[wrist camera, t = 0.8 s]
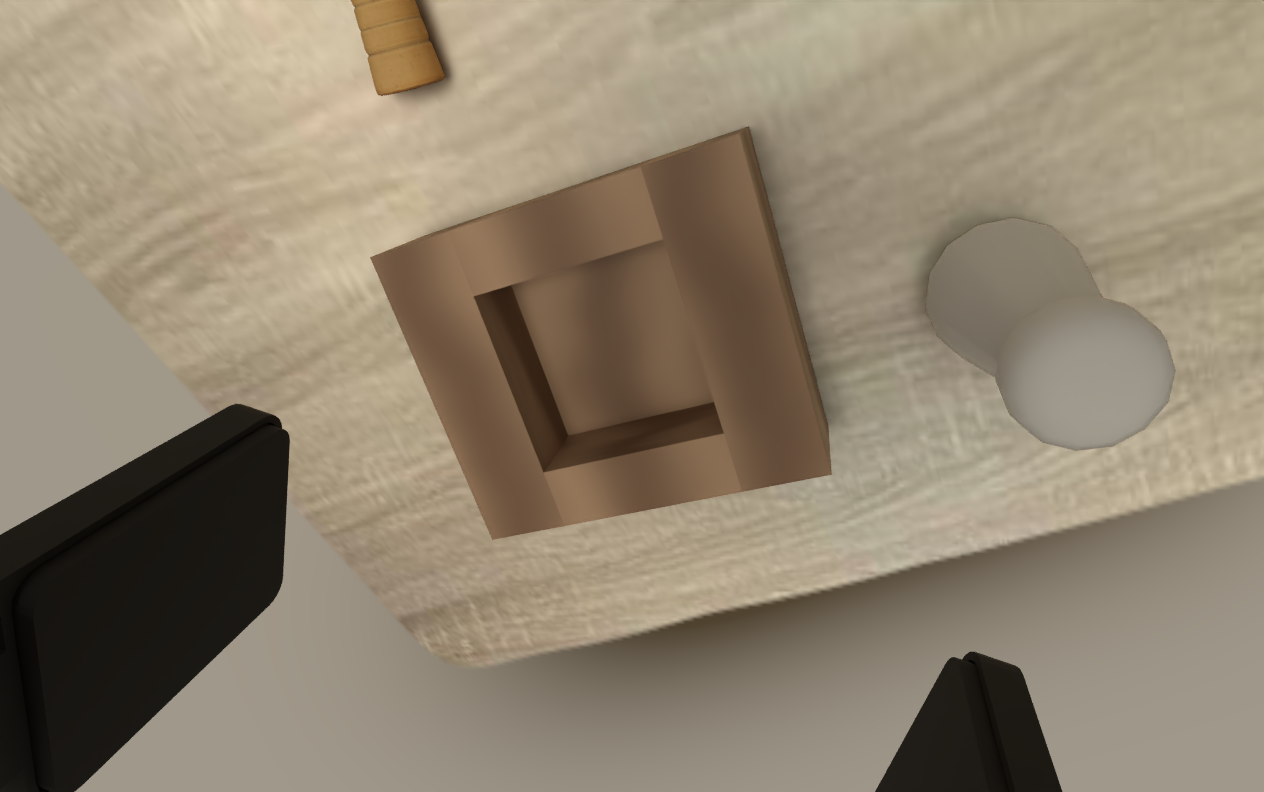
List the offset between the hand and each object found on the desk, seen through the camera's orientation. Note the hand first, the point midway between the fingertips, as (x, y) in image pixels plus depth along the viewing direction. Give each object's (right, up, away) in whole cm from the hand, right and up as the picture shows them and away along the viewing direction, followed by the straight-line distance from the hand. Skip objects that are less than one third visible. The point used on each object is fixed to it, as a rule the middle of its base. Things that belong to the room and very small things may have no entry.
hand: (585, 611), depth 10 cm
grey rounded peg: (+16, +8, +22) cm, 28 cm away
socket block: (0, +6, +26) cm, 27 cm away
